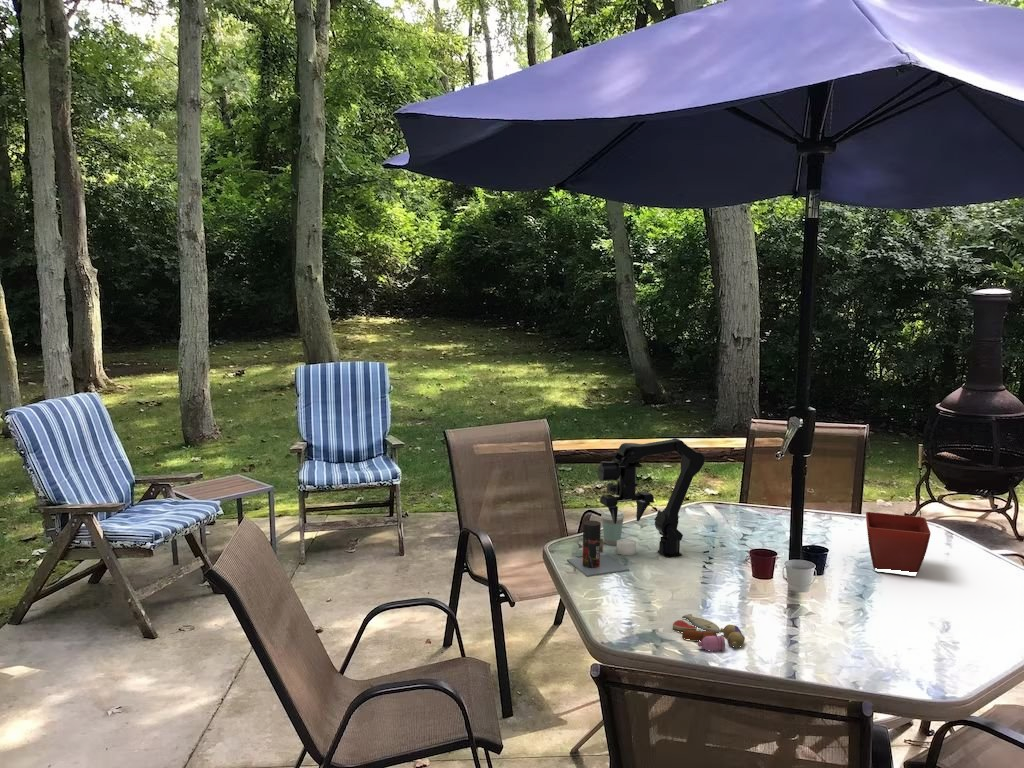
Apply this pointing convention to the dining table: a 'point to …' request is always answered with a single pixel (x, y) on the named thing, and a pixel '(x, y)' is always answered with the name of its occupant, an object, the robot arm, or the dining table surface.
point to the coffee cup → (612, 527)
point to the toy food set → (709, 633)
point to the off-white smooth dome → (626, 547)
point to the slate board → (606, 566)
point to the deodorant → (591, 544)
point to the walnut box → (601, 544)
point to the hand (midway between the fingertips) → (626, 522)
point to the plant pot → (897, 541)
